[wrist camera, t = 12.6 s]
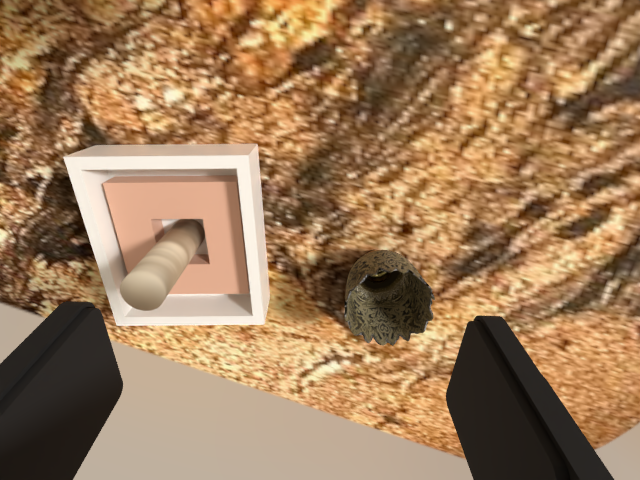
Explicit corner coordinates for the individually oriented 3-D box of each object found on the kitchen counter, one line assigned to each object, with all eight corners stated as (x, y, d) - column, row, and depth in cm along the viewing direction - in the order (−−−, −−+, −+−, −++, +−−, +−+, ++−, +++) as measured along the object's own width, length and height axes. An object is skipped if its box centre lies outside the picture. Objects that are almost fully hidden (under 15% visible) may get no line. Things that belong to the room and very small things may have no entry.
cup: (407, 294, 38) (427, 348, 31) (337, 293, 38) (342, 346, 31) (417, 230, 35) (443, 273, 28) (341, 228, 35) (347, 270, 28)
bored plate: (115, 176, 32) (102, 183, 30) (240, 175, 32) (236, 181, 30) (142, 283, 36) (133, 294, 34) (252, 282, 36) (248, 293, 34)
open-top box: (96, 145, 31) (63, 156, 27) (257, 143, 31) (248, 155, 27) (138, 298, 38) (116, 325, 34) (270, 297, 38) (264, 324, 34)
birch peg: (170, 218, 33) (114, 274, 24) (202, 217, 33) (159, 274, 24) (175, 247, 35) (125, 311, 26) (207, 246, 35) (167, 310, 26)
